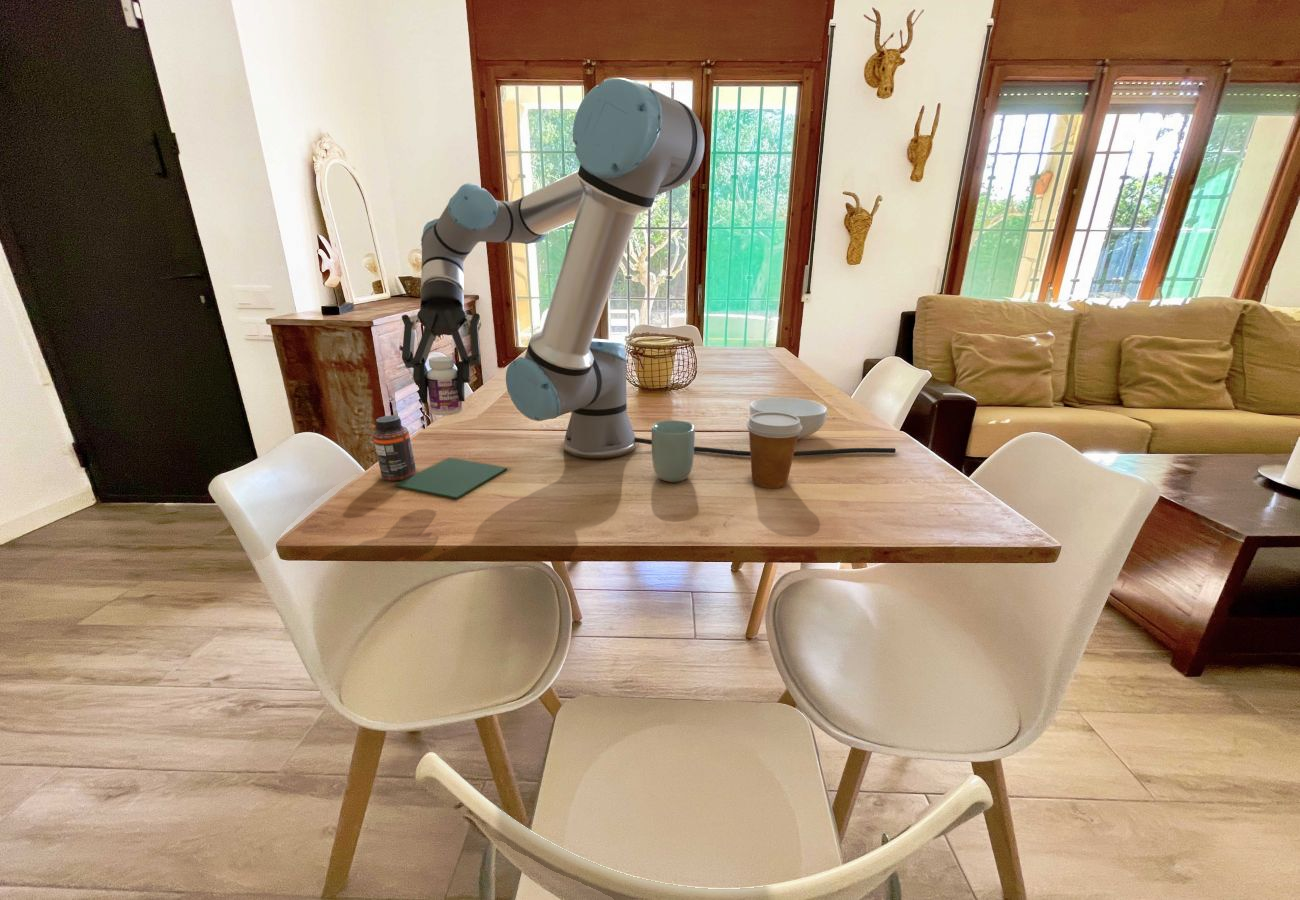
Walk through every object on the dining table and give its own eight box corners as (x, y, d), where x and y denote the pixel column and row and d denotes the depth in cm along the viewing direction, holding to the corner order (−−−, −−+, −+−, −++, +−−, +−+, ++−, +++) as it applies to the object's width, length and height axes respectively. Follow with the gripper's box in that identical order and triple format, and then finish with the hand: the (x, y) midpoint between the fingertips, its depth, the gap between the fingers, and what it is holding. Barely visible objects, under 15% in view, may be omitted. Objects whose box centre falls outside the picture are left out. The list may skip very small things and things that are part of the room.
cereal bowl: (832, 431, 121) (835, 402, 119) (811, 452, 108) (815, 420, 106) (763, 419, 130) (765, 392, 127) (736, 438, 117) (738, 408, 114)
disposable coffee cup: (798, 474, 97) (804, 413, 93) (794, 495, 89) (801, 429, 84) (747, 468, 100) (751, 409, 96) (738, 488, 91) (742, 423, 87)
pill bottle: (444, 418, 89) (437, 363, 86) (424, 412, 92) (417, 358, 88) (469, 410, 94) (463, 358, 90) (450, 405, 96) (444, 354, 93)
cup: (693, 470, 99) (695, 420, 96) (692, 487, 92) (694, 434, 88) (653, 469, 100) (653, 419, 96) (649, 485, 93) (649, 432, 89)
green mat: (507, 469, 100) (507, 467, 99) (456, 499, 87) (456, 497, 87) (449, 459, 104) (449, 457, 104) (394, 486, 92) (394, 484, 92)
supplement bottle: (409, 467, 101) (399, 411, 97) (421, 475, 97) (411, 418, 93) (377, 475, 97) (365, 418, 93) (388, 485, 93) (376, 425, 89)
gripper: (495, 304, 103) (500, 406, 93) (395, 306, 99) (390, 412, 90) (491, 277, 96) (495, 384, 87) (383, 278, 92) (376, 389, 83)
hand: (442, 398), depth 88 cm, fingers closed on pill bottle, 5 cm apart
